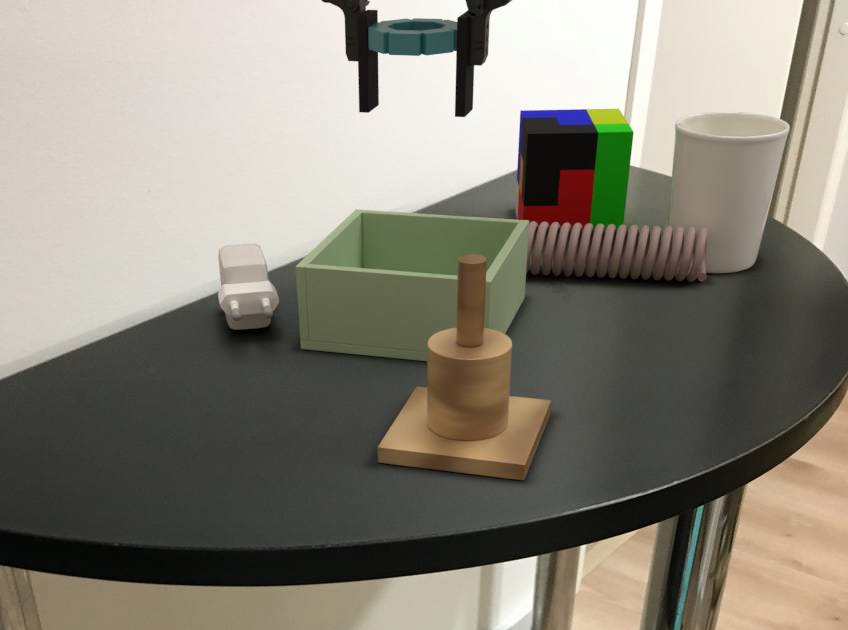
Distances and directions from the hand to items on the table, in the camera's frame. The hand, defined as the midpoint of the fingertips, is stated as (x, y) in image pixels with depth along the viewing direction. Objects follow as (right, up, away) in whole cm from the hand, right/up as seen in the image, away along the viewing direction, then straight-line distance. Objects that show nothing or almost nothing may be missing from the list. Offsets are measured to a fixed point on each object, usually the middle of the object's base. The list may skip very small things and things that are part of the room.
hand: (415, 110), depth 84 cm
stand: (+3, -26, -7) cm, 27 cm away
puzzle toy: (+17, +3, +31) cm, 36 cm away
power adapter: (-14, -14, +10) cm, 22 cm away
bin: (+1, -13, +10) cm, 17 cm away
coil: (+18, -7, +18) cm, 27 cm away
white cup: (+29, -4, +21) cm, 36 cm away
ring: (0, +3, -3) cm, 4 cm away
